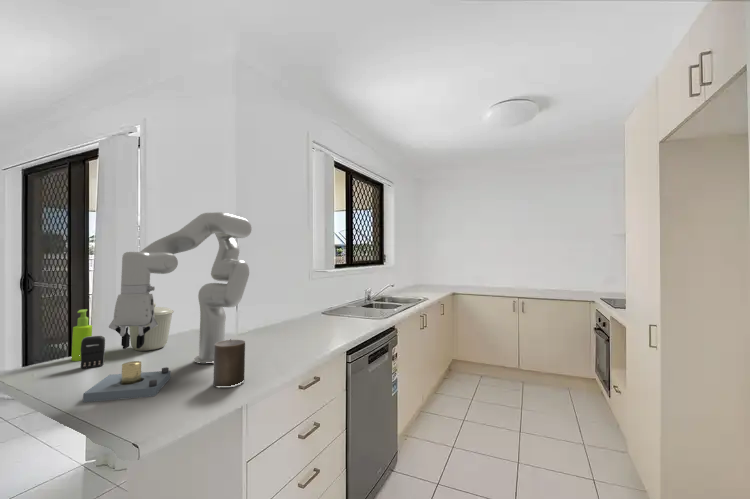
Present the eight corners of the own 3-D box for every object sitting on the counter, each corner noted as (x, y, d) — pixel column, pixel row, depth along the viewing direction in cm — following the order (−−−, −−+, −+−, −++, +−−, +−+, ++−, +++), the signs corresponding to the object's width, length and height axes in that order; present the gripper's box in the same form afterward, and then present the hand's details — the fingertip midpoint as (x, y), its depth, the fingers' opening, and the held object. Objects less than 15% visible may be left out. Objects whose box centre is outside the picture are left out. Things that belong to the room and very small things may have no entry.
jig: (170, 377, 116) (170, 366, 116) (154, 396, 101) (155, 382, 101) (109, 382, 111) (109, 370, 111) (82, 402, 95) (83, 388, 95)
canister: (119, 355, 140) (121, 305, 141) (130, 344, 157) (132, 300, 157) (168, 351, 147) (170, 304, 148) (175, 341, 164) (176, 299, 165)
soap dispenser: (68, 362, 129) (70, 311, 130) (74, 357, 136) (76, 308, 136) (87, 360, 132) (89, 310, 133) (92, 356, 138) (94, 308, 139)
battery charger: (79, 370, 121) (80, 338, 122) (80, 367, 124) (81, 336, 125) (103, 366, 125) (105, 336, 126) (104, 364, 129) (105, 334, 129)
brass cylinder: (143, 385, 109) (143, 360, 109) (136, 391, 104) (137, 365, 104) (125, 386, 107) (126, 361, 108) (118, 392, 103) (119, 366, 103)
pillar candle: (249, 383, 112) (250, 339, 113) (219, 391, 105) (221, 343, 106) (237, 376, 119) (238, 334, 120) (208, 383, 112) (210, 338, 113)
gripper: (167, 288, 113) (165, 343, 112) (110, 289, 108) (107, 346, 107) (160, 291, 105) (158, 349, 105) (99, 291, 101) (96, 352, 100)
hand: (132, 347), depth 106 cm, fingers open, 3 cm apart
